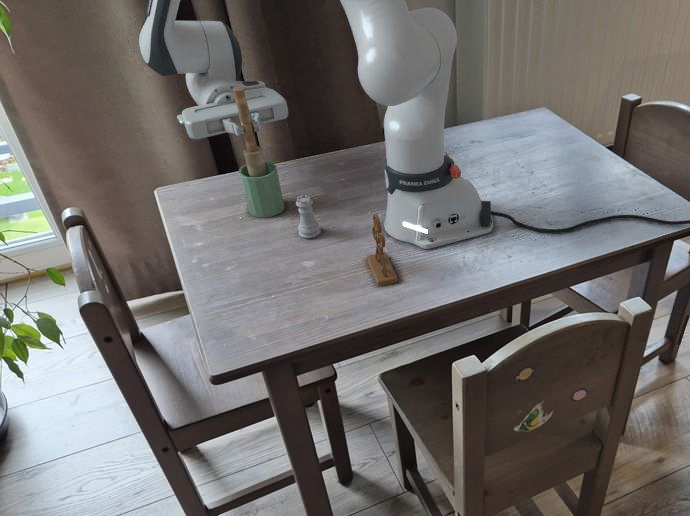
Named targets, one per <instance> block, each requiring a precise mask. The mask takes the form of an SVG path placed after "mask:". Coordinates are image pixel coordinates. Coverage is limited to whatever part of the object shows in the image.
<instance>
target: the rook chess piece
mask: <svg viewBox="0 0 690 516" xmlns="http://www.w3.org/2000/svg"><path fill="white" fill-rule="evenodd" d="M313 203H314V202H313V199H311V197H310V196H309V195H307V194H305V195H300V196H297V198H296V201H295V205H296V207H298V209H297V211H298V213H299V220H300V221H299V224H298V226H297V230H298V235H299V237H301V238H303V239H306V240H310V239H314V238H317V237H319V235H320V234H321V231H322V230H321V226H320V223H319V222H318V221H317V220H316V219H315V217H314V213H313V209H314V208H313V207H312V205H313Z"/></svg>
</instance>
